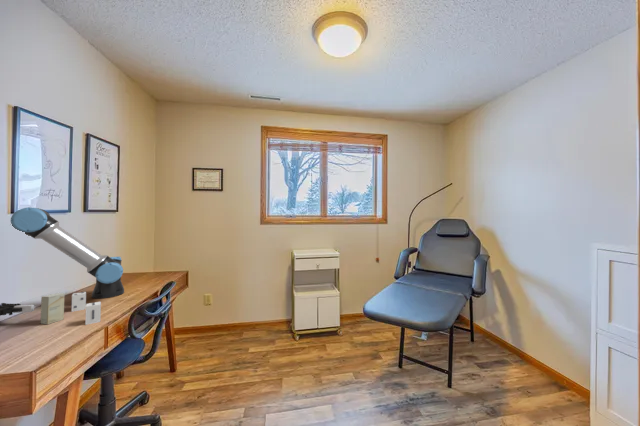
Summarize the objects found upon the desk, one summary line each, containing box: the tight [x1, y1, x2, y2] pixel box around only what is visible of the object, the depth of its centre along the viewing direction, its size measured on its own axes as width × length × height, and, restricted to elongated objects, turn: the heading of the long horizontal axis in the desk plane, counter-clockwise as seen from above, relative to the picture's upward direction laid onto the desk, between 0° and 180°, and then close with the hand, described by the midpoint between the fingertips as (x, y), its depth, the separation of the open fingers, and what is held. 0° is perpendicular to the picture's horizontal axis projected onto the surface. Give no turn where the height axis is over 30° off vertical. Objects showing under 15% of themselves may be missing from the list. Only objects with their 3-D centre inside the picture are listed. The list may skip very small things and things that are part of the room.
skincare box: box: [40, 292, 66, 325], centre depth 114 cm, size 6×4×12 cm
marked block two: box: [71, 291, 87, 312], centre depth 129 cm, size 5×5×8 cm
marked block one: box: [84, 301, 102, 326], centre depth 114 cm, size 5×5×8 cm
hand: (32, 308), depth 113 cm, fingers closed
